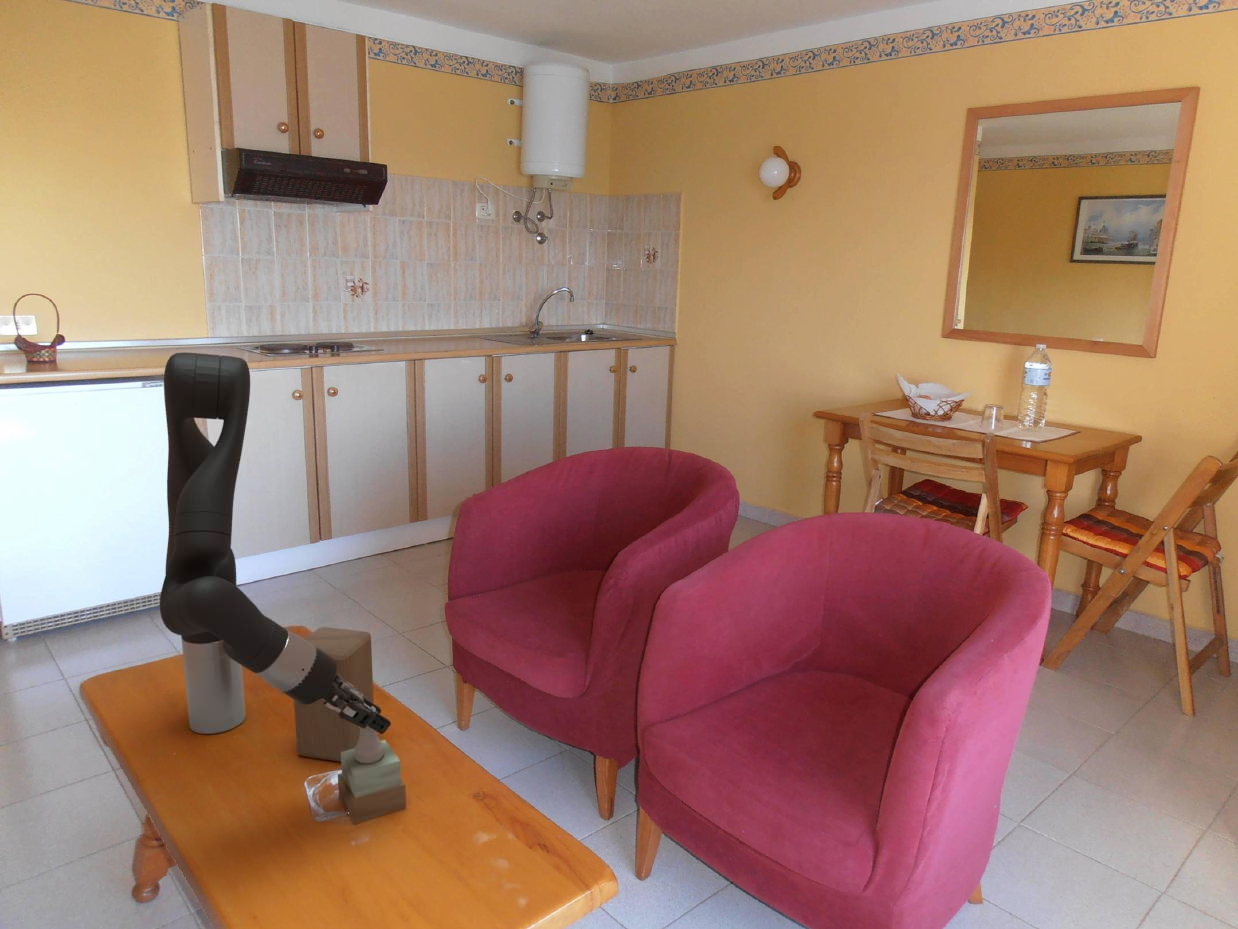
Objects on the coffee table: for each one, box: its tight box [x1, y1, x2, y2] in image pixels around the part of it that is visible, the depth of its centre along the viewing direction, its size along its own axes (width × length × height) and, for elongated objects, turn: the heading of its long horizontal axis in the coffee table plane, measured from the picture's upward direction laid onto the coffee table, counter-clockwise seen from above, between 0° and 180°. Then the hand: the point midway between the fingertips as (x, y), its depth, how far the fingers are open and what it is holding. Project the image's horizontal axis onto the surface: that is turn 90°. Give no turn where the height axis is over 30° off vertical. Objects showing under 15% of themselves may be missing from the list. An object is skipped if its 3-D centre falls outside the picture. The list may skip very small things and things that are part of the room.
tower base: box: [337, 739, 407, 826], centre depth 133 cm, size 8×8×8 cm
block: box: [293, 626, 375, 763], centre depth 147 cm, size 10×10×20 cm
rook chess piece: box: [354, 706, 384, 764], centre depth 131 cm, size 4×4×8 cm
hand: (381, 721), depth 132 cm, fingers open, 4 cm apart
